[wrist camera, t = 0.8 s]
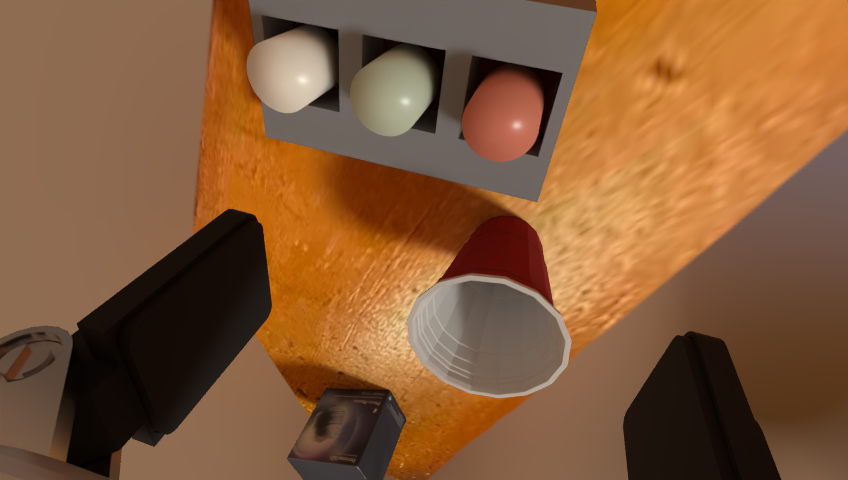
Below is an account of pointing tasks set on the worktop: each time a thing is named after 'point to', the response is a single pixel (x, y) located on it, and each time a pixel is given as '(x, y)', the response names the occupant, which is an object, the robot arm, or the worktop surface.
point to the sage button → (395, 89)
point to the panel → (465, 45)
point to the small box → (349, 436)
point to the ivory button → (294, 68)
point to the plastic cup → (492, 316)
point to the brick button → (504, 113)
